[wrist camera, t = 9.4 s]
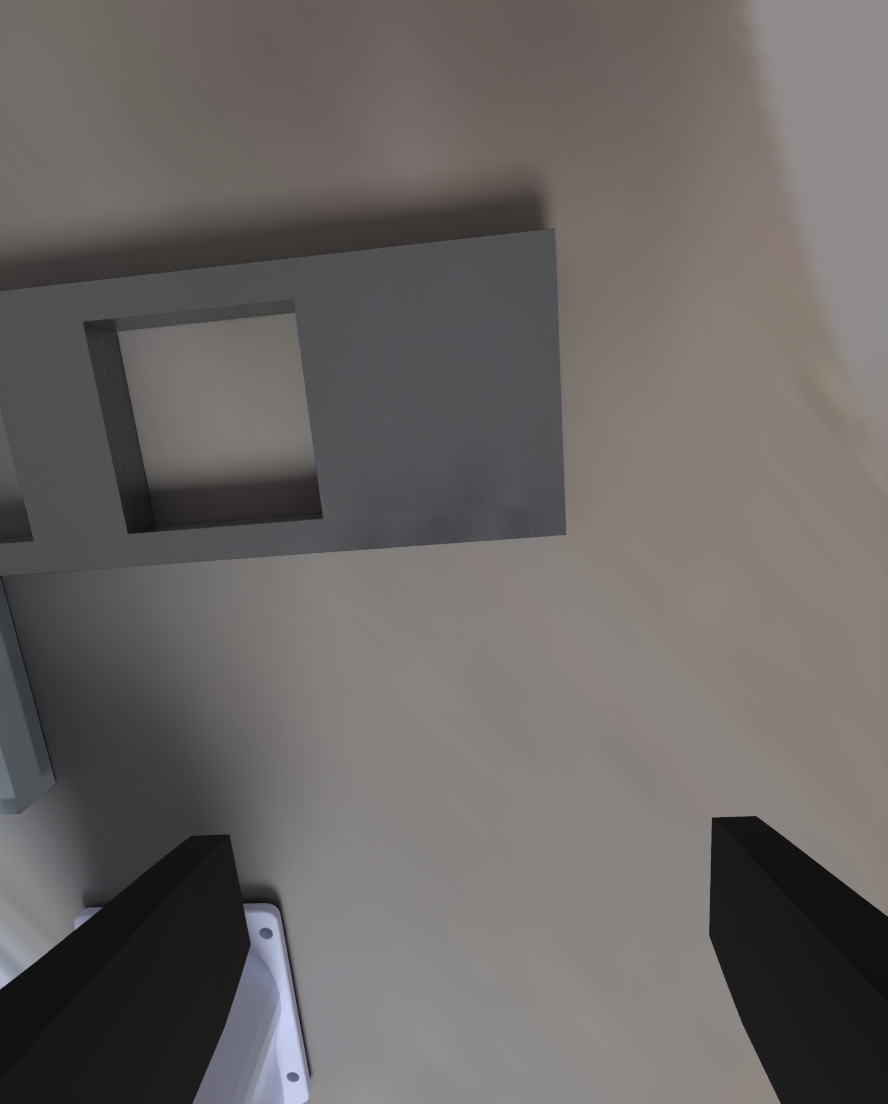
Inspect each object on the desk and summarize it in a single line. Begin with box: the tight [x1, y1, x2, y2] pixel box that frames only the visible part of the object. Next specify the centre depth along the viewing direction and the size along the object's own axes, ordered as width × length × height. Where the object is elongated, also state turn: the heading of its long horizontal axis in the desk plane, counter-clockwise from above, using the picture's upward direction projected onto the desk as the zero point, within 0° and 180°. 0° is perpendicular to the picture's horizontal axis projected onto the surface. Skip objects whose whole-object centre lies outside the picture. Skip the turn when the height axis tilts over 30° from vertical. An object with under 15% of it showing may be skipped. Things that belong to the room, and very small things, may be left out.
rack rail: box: [0, 228, 566, 576], centre depth 16 cm, size 8×26×1 cm, turn 95°
